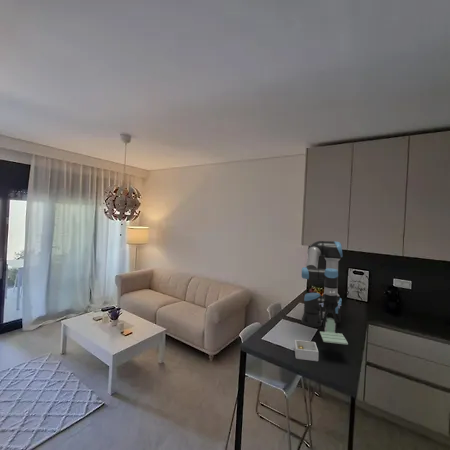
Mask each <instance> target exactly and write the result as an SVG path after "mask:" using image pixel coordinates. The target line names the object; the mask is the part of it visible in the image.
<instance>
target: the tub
mask: <svg viewBox="0 0 450 450" xmlns="http://www.w3.org/2000/svg"><path fill="white" fill-rule="evenodd" d="M298 346H303V347H304V349H298ZM294 355H295V359H297V360H305V361H313V362H319V349H318V347H317V343H316V342H315V341H306V340H300V339H299V340H298V339H294Z"/></svg>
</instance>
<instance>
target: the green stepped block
mask: <svg viewBox="0 0 450 450" xmlns="http://www.w3.org/2000/svg"><path fill="white" fill-rule="evenodd" d="M326 321H327V332H325V331H319V334H320V336H321V339H322V342H323V343H329V344H330V343H331V344H336V345H337V344H339V345H349V343H348V341H347V339H346V337H345V336H344V335H343V333H339V332H335V333H334V322H335V321H334V317H333V318H332V317H327V318H326Z"/></svg>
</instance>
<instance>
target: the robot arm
mask: <svg viewBox="0 0 450 450" xmlns="http://www.w3.org/2000/svg"><path fill="white" fill-rule="evenodd" d="M307 254H308V255H307V260H306V265H305V267H302V268H301V278H302V279H306V280H313V281H324V287H323V288H324V290H323V293H322V294H323V295H321V294H320V293H319V292H308V293H305V294H304V299H303V302H304V304H303V314H302V317H301V320H300V321H301V323H302V324H303V325H304V326H306V327H312V328H320V327H322V326H323V328H324V332H327V321H326V318H328V314H332V316H333V319H334V333H336V329H337V328H338V323H341V321H342V318H341V317H342V310H343V306H342V301H343V300H342V298H341V297H340V294H339V293H338V292H339V291H338V289H339V288H338V286H339V261H340V260H341V258H343V257H344V256H343V247H342V243H341V242H340V241H334V240H333V241H332V240H331V241H329V240H328V241H326V240H318V241H315V242H313V243H311V244H310V245H309V247H308V249H307ZM320 256H321V257H324V259H325V261H326V262H325V263H326V265H325V268H318V267H319V257H320ZM323 313H324V314H323Z"/></svg>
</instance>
